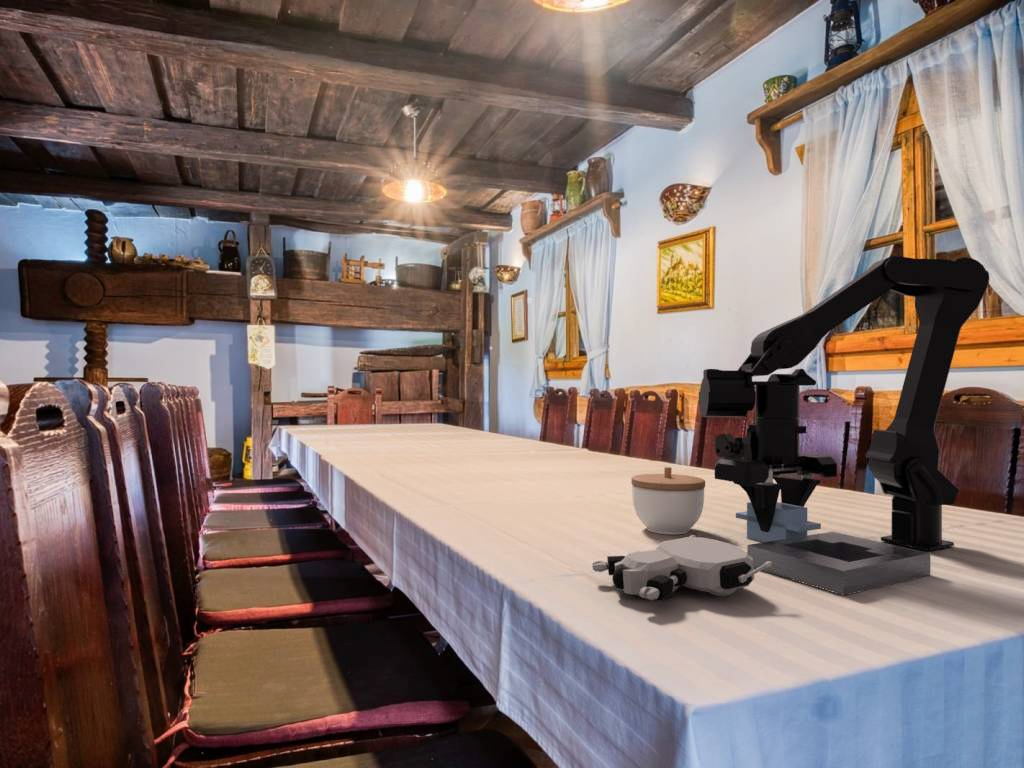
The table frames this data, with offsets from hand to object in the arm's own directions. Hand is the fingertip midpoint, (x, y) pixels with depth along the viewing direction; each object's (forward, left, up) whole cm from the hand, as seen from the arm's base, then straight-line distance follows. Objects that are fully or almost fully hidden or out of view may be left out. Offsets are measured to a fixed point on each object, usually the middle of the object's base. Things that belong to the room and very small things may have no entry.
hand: (776, 529), depth 86 cm
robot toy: (+28, +10, -2) cm, 30 cm away
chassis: (+6, +13, -1) cm, 14 cm away
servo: (0, 0, -2) cm, 2 cm away
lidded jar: (+9, -12, -2) cm, 15 cm away
